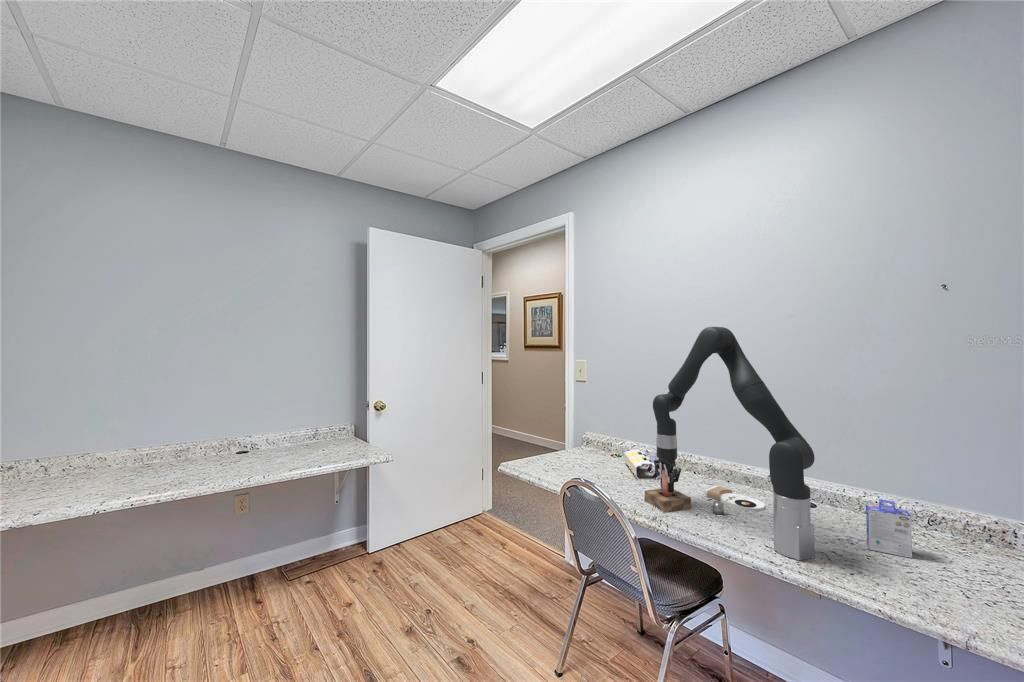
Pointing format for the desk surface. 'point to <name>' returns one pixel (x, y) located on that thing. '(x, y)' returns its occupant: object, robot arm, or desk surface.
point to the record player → (734, 499)
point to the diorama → (639, 461)
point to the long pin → (665, 485)
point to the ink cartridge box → (889, 529)
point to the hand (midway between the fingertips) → (667, 489)
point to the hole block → (667, 500)
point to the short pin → (718, 508)
